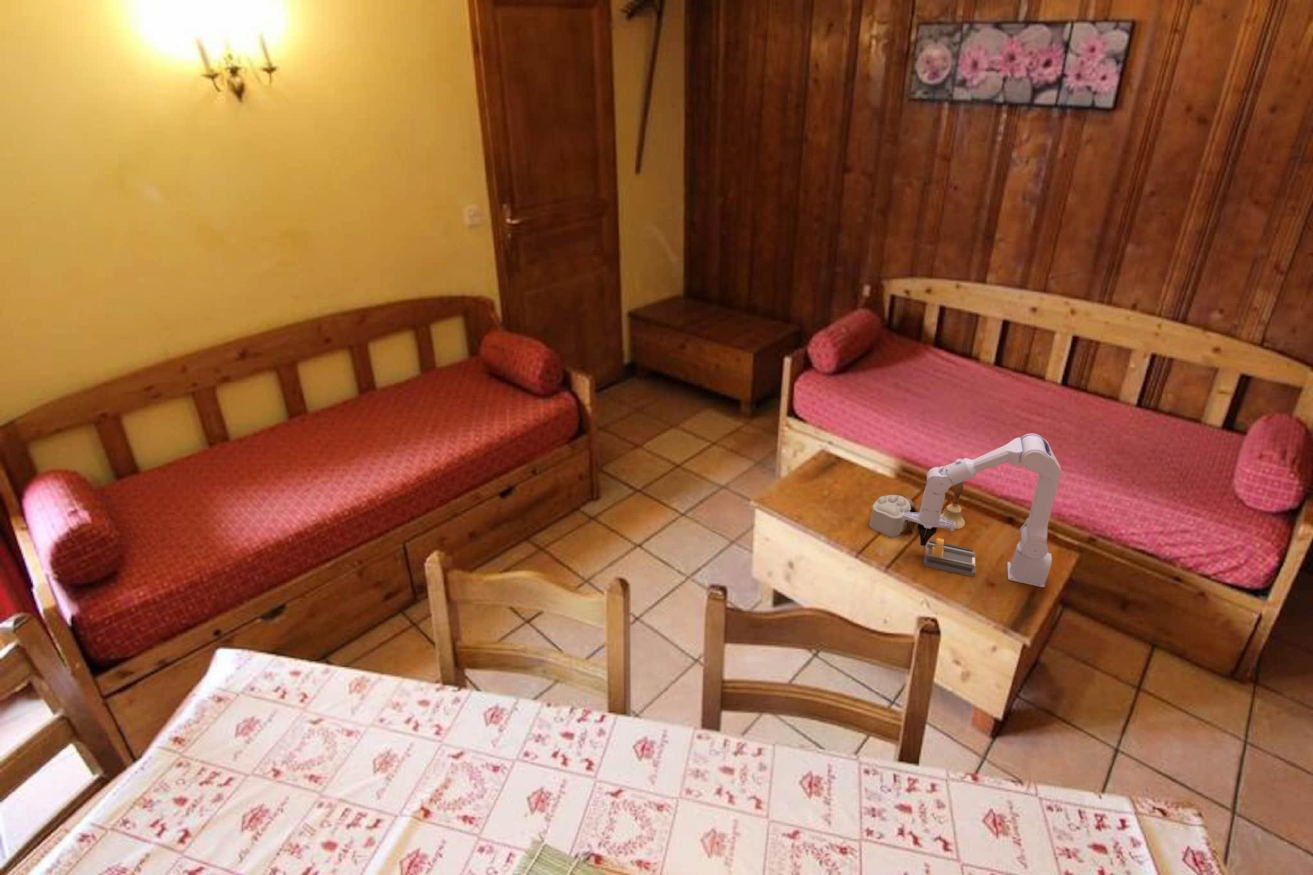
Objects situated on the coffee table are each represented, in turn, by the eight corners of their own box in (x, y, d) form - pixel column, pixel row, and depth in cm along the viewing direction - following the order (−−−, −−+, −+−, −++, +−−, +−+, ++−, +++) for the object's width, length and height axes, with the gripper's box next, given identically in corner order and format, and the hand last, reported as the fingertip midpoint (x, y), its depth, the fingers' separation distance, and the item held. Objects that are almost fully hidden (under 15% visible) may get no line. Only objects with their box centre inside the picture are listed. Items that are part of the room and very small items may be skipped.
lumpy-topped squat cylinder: (865, 526, 228) (869, 503, 224) (883, 508, 236) (887, 486, 232) (896, 539, 222) (900, 516, 218) (914, 520, 231) (918, 498, 226)
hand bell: (938, 527, 227) (948, 485, 219) (936, 512, 234) (945, 471, 226) (966, 531, 226) (977, 488, 218) (963, 515, 233) (973, 474, 225)
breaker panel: (974, 556, 215) (976, 549, 213) (974, 577, 207) (976, 569, 205) (925, 545, 219) (926, 538, 218) (923, 565, 211) (924, 558, 210)
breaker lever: (942, 550, 215) (945, 539, 212) (942, 559, 211) (945, 547, 209) (932, 548, 215) (935, 536, 213) (931, 557, 212) (934, 545, 210)
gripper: (904, 508, 206) (896, 546, 213) (958, 519, 201) (948, 557, 208) (906, 495, 211) (898, 532, 218) (958, 505, 207) (949, 543, 214)
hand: (922, 543), depth 213 cm, fingers closed
